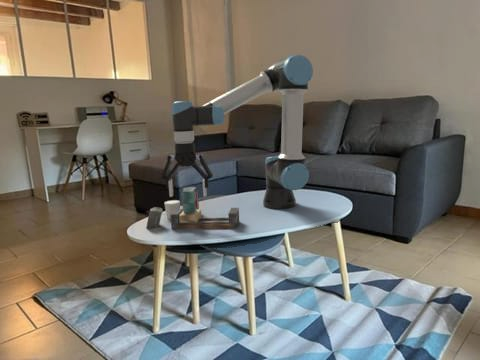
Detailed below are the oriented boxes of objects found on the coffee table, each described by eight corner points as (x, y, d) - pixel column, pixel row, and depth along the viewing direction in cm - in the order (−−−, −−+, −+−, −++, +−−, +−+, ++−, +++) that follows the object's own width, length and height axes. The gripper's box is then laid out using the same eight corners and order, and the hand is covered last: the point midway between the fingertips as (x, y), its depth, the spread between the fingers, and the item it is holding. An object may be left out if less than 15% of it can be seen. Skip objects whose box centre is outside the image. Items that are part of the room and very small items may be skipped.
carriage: (201, 216, 149) (199, 187, 147) (197, 222, 141) (194, 192, 139) (185, 216, 150) (182, 188, 148) (179, 222, 142) (177, 192, 140)
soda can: (196, 216, 158) (194, 189, 156) (181, 216, 159) (178, 189, 157) (201, 212, 165) (199, 186, 162) (186, 211, 166) (184, 186, 164)
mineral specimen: (146, 229, 142) (143, 209, 142) (146, 227, 150) (144, 208, 151) (165, 226, 144) (162, 206, 144) (164, 224, 152) (162, 205, 152)
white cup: (174, 220, 154) (172, 204, 153) (162, 218, 158) (160, 203, 157) (184, 216, 160) (183, 200, 159) (173, 214, 164) (171, 199, 162)
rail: (239, 221, 148) (238, 207, 146) (236, 228, 140) (236, 213, 139) (177, 222, 151) (176, 208, 150) (171, 229, 143) (170, 214, 142)
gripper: (218, 140, 142) (220, 193, 146) (156, 142, 145) (160, 194, 149) (214, 142, 134) (217, 197, 138) (149, 144, 137) (154, 198, 141)
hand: (188, 196), depth 144 cm, fingers open, 13 cm apart
